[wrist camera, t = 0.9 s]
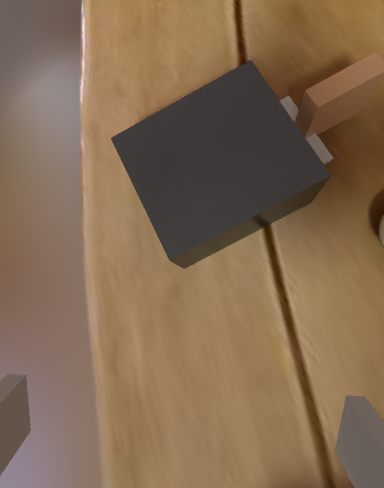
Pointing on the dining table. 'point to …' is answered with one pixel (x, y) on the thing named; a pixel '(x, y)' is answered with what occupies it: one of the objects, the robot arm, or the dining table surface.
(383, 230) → the pottery oil lamp
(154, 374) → the dining table surface
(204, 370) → the dining table surface
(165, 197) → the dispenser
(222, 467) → the dining table surface
